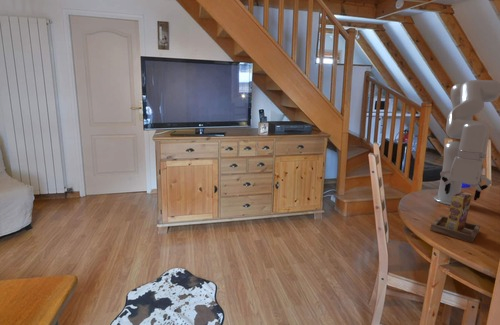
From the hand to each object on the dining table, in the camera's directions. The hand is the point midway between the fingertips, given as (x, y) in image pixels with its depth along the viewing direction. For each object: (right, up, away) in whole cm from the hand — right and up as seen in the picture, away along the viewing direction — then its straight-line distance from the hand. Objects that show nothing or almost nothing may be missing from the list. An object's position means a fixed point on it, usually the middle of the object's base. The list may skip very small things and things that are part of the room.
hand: (461, 196), depth 125 cm
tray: (-1, -15, +3) cm, 15 cm away
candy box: (-1, -14, +3) cm, 15 cm away
